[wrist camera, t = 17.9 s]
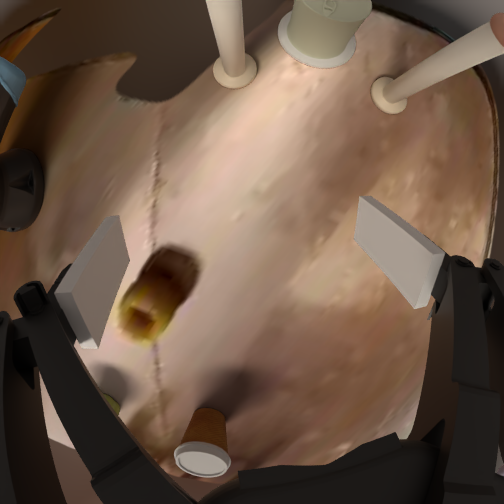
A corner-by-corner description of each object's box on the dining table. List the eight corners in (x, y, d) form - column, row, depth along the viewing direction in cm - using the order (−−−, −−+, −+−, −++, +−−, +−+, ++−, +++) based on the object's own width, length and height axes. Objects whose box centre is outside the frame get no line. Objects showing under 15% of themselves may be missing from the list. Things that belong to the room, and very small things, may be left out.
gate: (211, 88, 35) (148, -49, 7) (216, 53, 34) (173, -92, 6) (404, 118, 35) (548, 73, 8) (403, 84, 34) (530, 19, 7)
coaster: (261, 36, 33) (261, 34, 32) (308, -2, 31) (309, -4, 30) (325, 83, 35) (326, 82, 34) (368, 41, 33) (369, 40, 32)
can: (278, 45, 33) (286, 1, 21) (297, 5, 31) (309, -40, 19) (337, 69, 33) (365, 32, 22) (352, 27, 31) (379, -11, 20)
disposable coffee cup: (198, 394, 46) (187, 442, 35) (243, 415, 47) (241, 463, 36) (176, 419, 48) (164, 464, 36) (218, 438, 49) (212, 483, 38)
